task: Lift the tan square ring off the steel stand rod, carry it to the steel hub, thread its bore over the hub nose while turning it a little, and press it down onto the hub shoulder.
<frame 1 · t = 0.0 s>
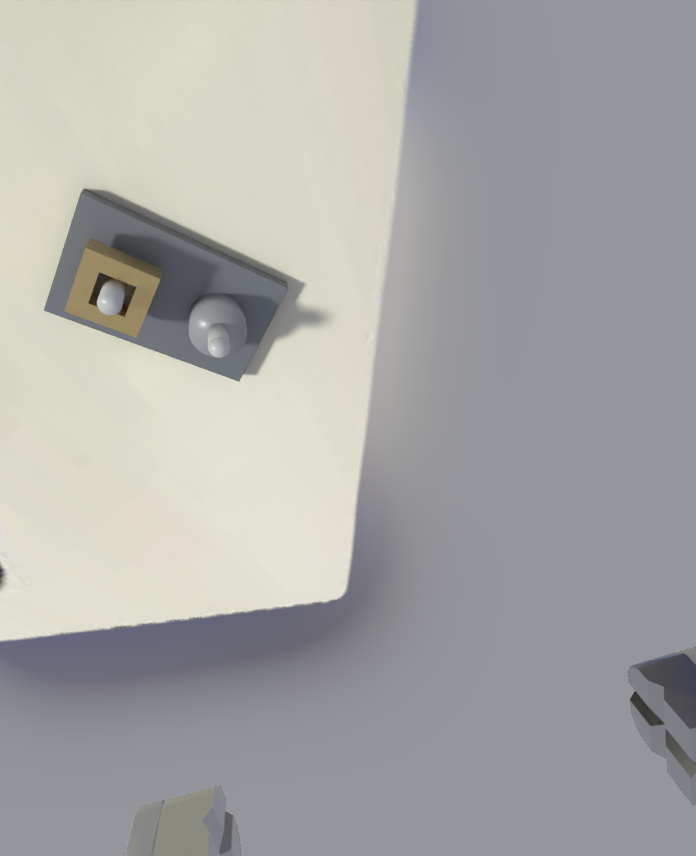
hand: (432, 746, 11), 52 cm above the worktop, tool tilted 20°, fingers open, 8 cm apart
mount board: (170, 292, 58), on the worktop
tan square ring: (115, 284, 53), point 3 cm above the worktop, touching mount board
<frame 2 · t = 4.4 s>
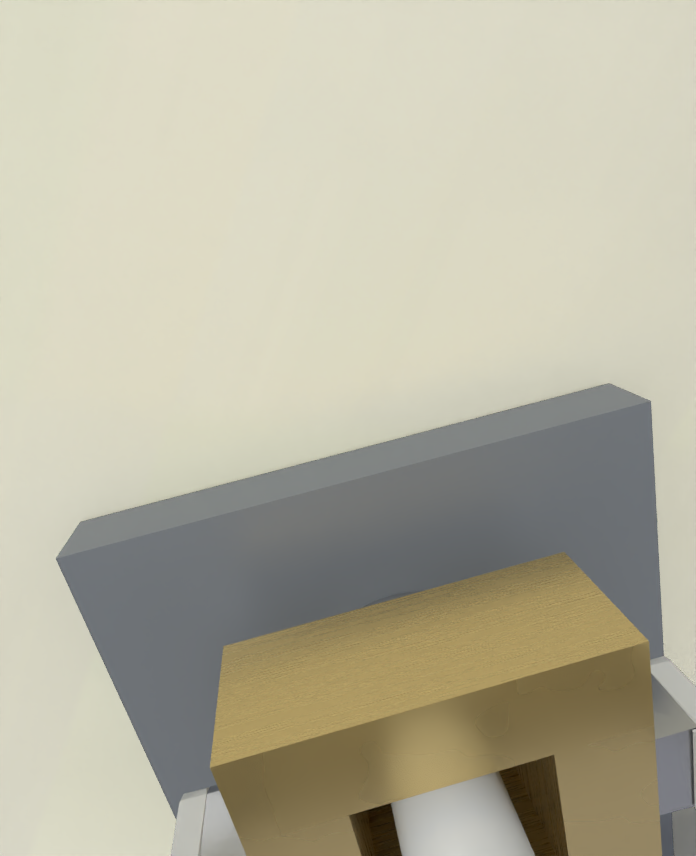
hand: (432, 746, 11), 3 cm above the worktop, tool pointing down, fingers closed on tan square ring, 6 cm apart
mount board: (430, 777, 16), on the worktop
tan square ring: (427, 730, 11), point 3 cm above the worktop, touching gripper, mount board
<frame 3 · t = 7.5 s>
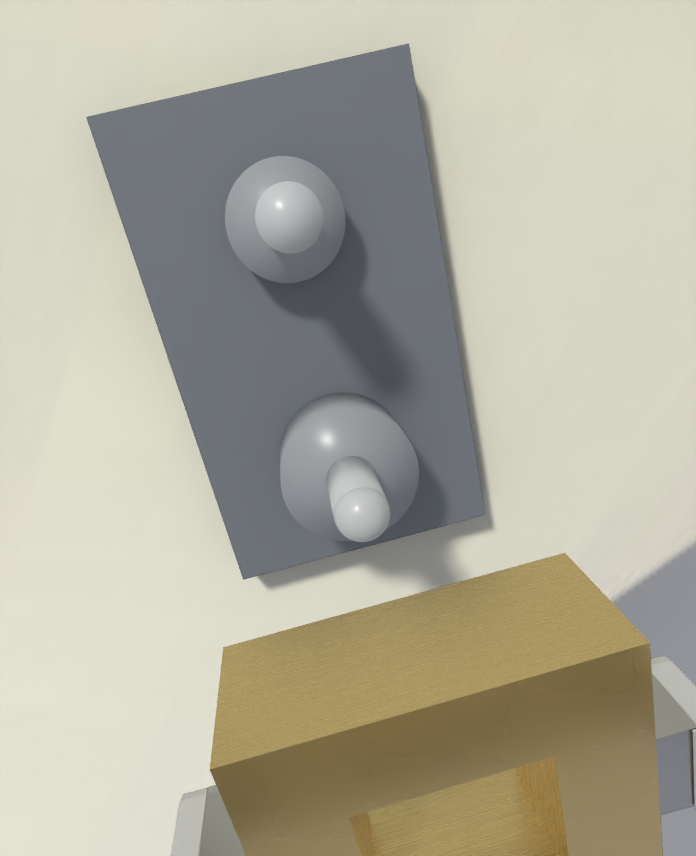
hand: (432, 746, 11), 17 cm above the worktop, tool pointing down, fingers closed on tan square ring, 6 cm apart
mount board: (313, 339, 26), on the worktop
tan square ring: (427, 731, 11), point 17 cm above the worktop, touching gripper
when the fingers open (5 cm above the worktop, at t = 10.8 s): tan square ring stays where it is, resting on mount board.
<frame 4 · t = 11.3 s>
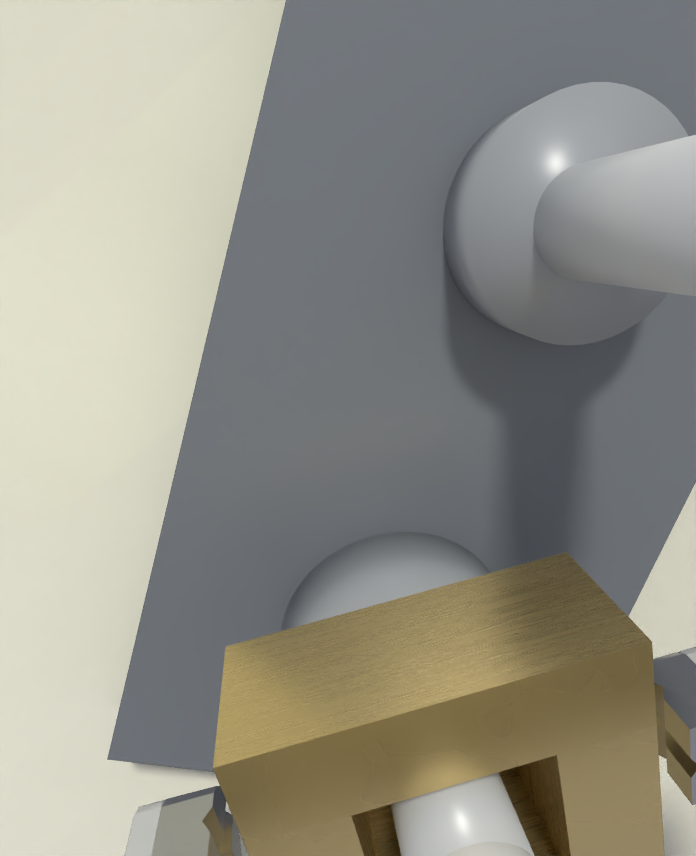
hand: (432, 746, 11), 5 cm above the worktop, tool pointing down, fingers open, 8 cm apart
mount board: (444, 428, 14), on the worktop
tan square ring: (429, 730, 11), point 4 cm above the worktop, touching mount board
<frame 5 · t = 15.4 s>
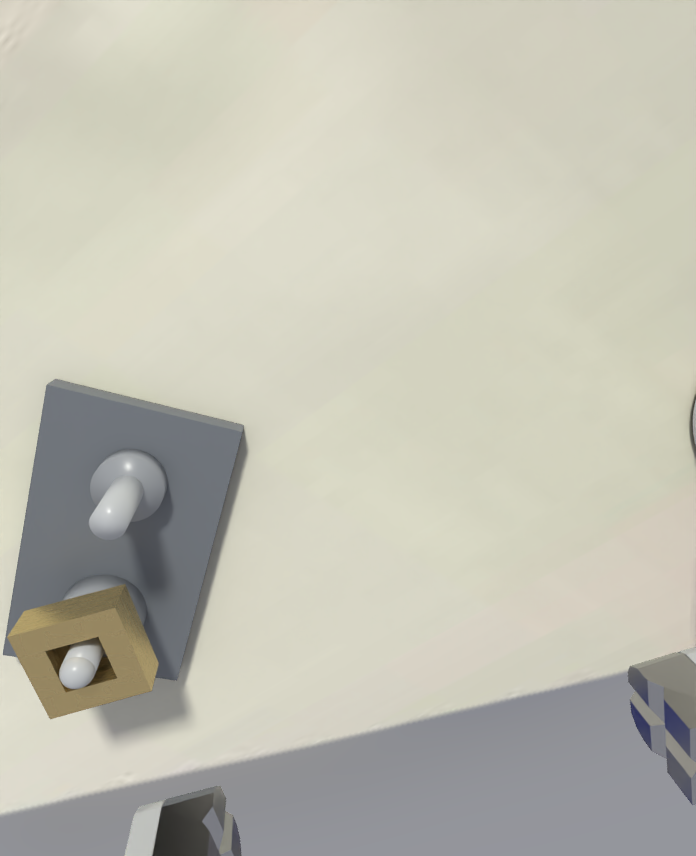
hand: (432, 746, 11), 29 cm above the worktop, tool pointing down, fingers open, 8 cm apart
mount board: (123, 536, 40), on the worktop
tan square ring: (93, 637, 37), point 4 cm above the worktop, touching mount board
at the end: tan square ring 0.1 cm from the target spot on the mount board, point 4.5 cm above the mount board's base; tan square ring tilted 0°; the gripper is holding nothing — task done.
